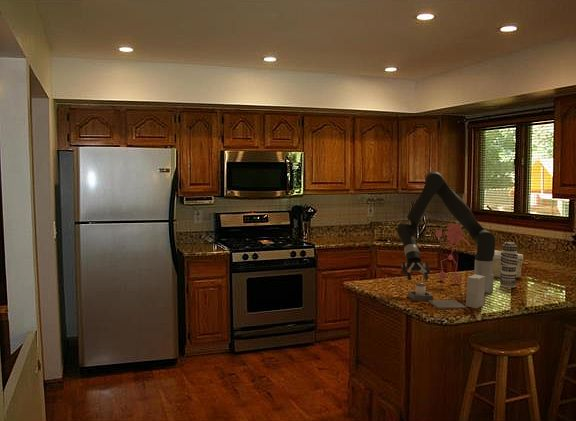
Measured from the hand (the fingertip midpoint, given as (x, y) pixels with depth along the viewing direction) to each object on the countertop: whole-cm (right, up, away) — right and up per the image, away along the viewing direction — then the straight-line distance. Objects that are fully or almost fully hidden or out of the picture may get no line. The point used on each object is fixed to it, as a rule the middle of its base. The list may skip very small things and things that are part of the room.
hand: (418, 279), depth 279 cm
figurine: (+30, -6, +39) cm, 49 cm away
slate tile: (+10, -10, -15) cm, 21 cm away
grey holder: (0, -9, -3) cm, 10 cm away
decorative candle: (+59, -7, +30) cm, 67 cm away
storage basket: (+65, -5, +60) cm, 89 cm away
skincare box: (+24, -11, -17) cm, 31 cm away
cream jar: (0, -9, -3) cm, 10 cm away
